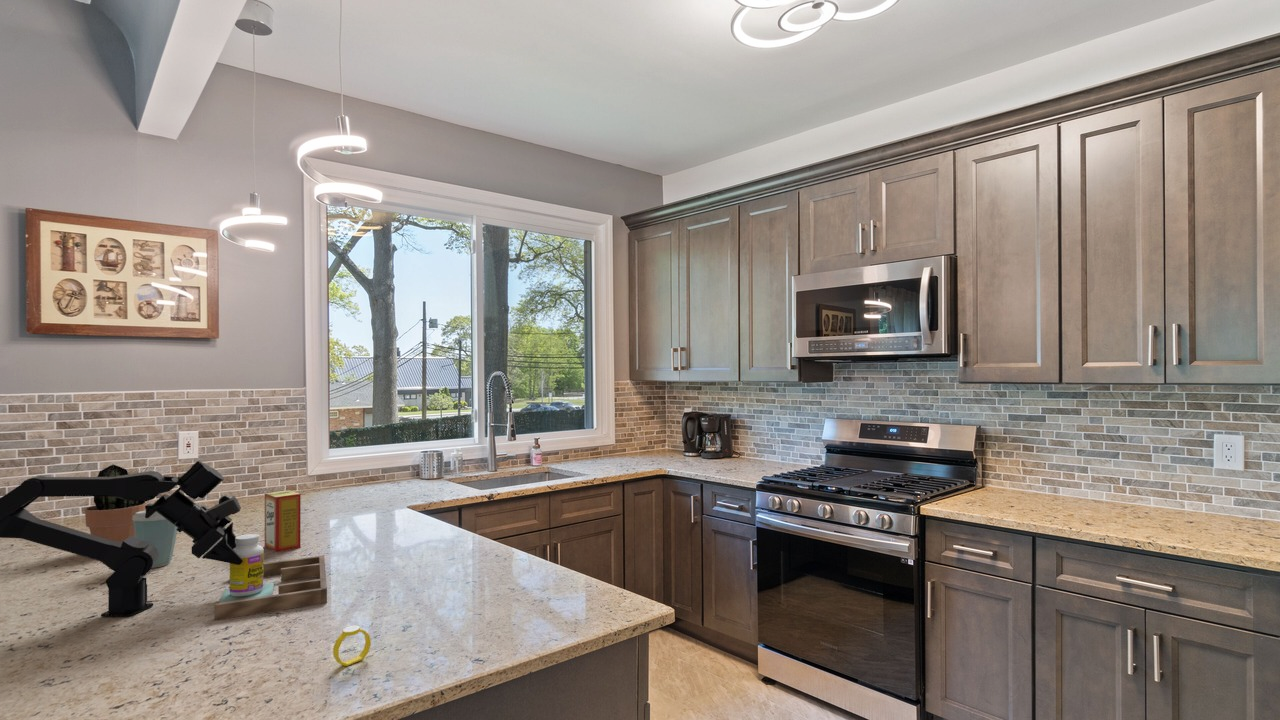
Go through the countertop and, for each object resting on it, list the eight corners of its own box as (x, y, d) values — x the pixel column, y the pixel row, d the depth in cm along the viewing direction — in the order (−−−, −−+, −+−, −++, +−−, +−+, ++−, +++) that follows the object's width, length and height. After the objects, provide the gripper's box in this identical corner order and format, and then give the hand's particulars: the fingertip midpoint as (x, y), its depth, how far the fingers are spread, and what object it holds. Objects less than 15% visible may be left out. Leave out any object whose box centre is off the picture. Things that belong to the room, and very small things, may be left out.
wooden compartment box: (213, 620, 131) (213, 605, 131) (229, 579, 158) (229, 567, 158) (326, 602, 141) (326, 588, 141) (324, 566, 168) (324, 555, 168)
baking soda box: (300, 547, 187) (300, 492, 187) (276, 552, 182) (276, 495, 183) (288, 542, 193) (288, 489, 194) (264, 546, 189) (264, 492, 189)
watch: (365, 654, 114) (365, 621, 114) (373, 659, 112) (372, 624, 113) (331, 666, 110) (331, 631, 110) (338, 671, 108) (338, 635, 108)
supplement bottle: (247, 598, 143) (247, 540, 143) (222, 596, 144) (222, 539, 144) (270, 588, 149) (270, 533, 150) (246, 587, 151) (246, 532, 151)
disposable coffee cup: (123, 567, 169) (123, 510, 169) (168, 557, 178) (169, 503, 179) (144, 573, 164) (144, 514, 164) (190, 562, 173) (190, 506, 174)
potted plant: (91, 560, 176) (92, 469, 176) (78, 552, 184) (79, 465, 185) (152, 549, 187) (152, 463, 187) (137, 542, 195) (137, 460, 196)
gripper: (210, 493, 136) (269, 539, 141) (221, 480, 153) (274, 522, 158) (164, 534, 133) (227, 580, 137) (180, 517, 149) (236, 558, 154)
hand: (243, 557), depth 147 cm, fingers open, 9 cm apart
